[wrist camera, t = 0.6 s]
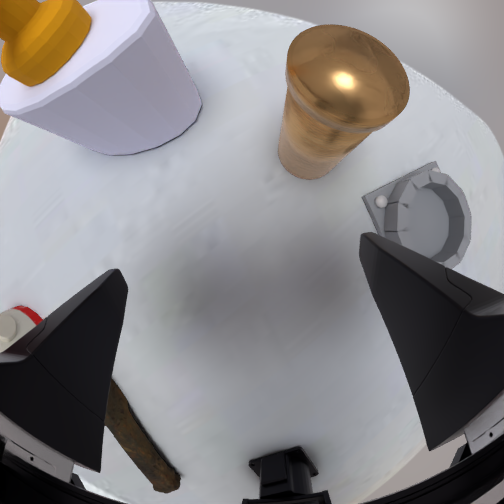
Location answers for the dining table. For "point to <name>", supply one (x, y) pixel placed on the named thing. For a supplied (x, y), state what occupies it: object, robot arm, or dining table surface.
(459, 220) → the socket
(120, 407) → the hand tool
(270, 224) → the dining table surface
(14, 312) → the kitchen timer
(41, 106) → the soap bottle
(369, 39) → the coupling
